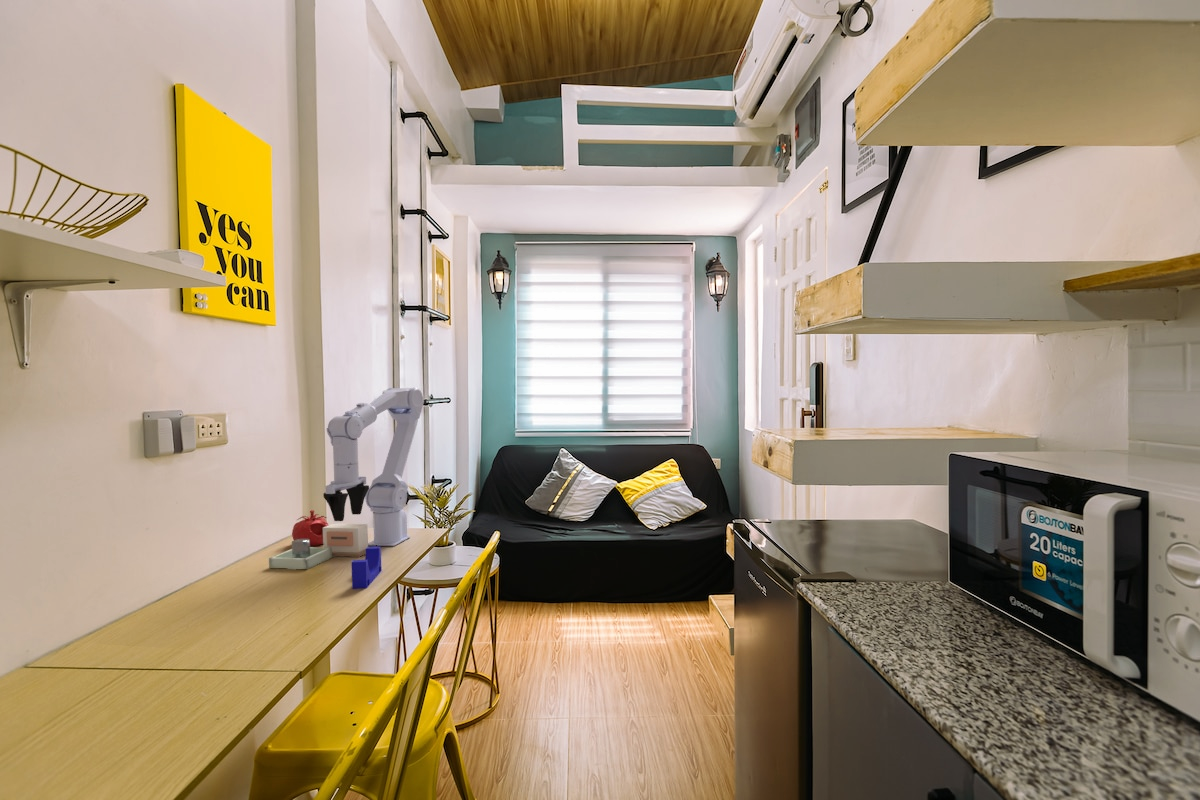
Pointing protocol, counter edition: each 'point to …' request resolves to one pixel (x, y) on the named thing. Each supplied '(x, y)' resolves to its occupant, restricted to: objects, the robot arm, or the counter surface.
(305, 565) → the parts tray
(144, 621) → the counter surface
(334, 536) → the mounted housing
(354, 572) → the blue cradle block
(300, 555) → the coupling
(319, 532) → the pomegranate
